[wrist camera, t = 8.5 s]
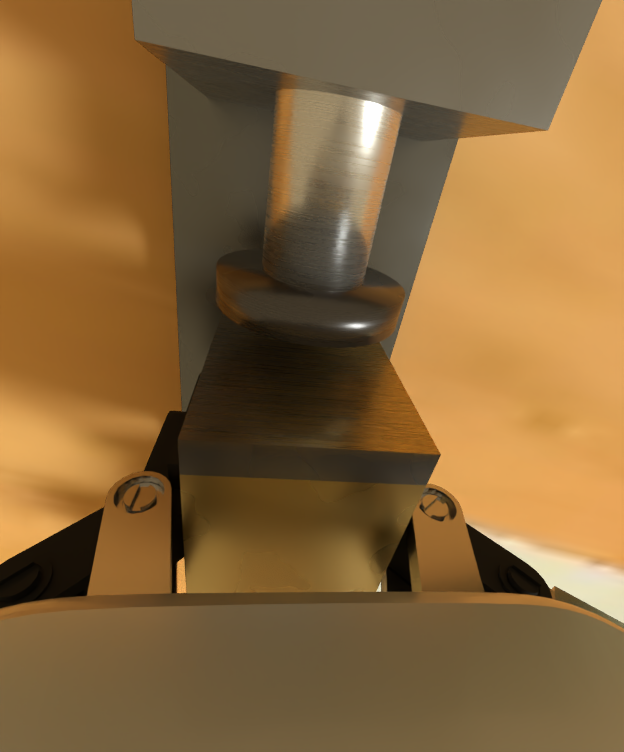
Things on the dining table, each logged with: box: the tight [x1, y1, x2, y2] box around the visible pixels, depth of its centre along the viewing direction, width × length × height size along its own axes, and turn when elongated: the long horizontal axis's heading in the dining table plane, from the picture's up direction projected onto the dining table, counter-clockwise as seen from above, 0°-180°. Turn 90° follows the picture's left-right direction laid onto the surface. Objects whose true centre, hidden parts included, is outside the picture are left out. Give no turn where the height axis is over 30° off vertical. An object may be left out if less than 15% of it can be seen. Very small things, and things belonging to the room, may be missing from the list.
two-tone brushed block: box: [178, 313, 441, 593], centre depth 10 cm, size 7×4×6 cm, turn 171°
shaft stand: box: [132, 0, 602, 412], centre depth 12 cm, size 28×8×7 cm, turn 171°
